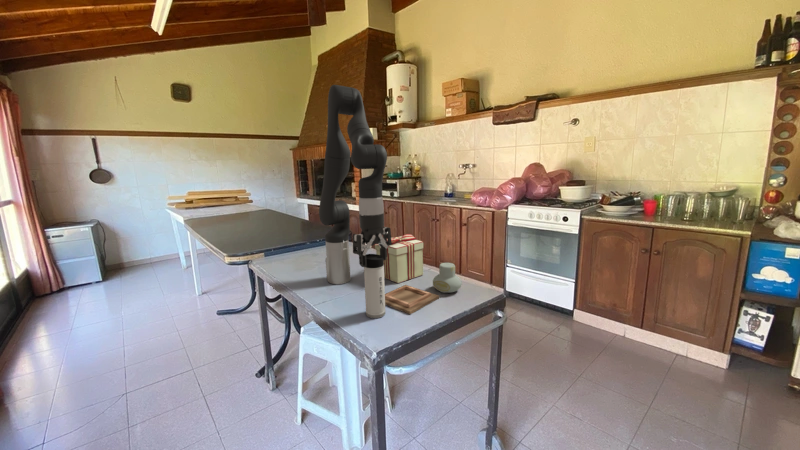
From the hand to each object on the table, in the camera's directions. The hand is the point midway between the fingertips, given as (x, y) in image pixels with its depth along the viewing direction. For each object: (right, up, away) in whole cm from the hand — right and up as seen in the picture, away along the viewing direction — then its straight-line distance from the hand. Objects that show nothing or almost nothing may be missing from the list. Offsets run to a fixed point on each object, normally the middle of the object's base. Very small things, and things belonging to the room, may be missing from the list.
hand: (373, 263), depth 102 cm
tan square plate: (+11, -15, +14) cm, 23 cm away
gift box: (+7, -10, +39) cm, 40 cm away
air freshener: (+26, -13, +21) cm, 36 cm away
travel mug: (0, -17, +4) cm, 18 cm away
